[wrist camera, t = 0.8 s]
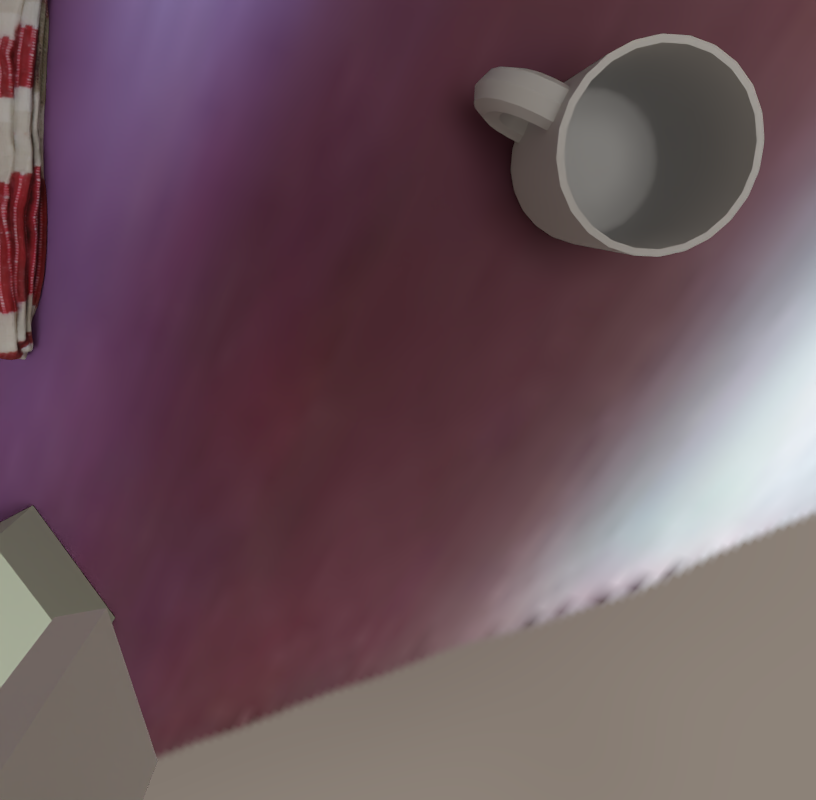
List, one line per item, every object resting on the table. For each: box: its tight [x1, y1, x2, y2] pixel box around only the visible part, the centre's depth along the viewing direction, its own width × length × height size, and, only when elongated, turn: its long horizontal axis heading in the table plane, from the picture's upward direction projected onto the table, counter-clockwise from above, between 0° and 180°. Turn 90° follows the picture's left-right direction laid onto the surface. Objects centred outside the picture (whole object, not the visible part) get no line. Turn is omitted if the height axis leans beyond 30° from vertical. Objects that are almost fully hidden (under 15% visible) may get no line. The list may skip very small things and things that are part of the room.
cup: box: [474, 34, 764, 257], centre depth 28 cm, size 7×10×9 cm
